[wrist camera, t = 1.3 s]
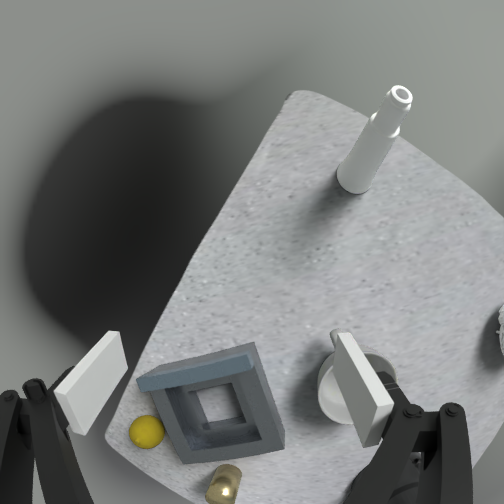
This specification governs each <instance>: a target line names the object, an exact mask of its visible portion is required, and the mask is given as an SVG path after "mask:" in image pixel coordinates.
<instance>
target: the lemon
mask: <svg viewBox="0 0 504 504" xmlns="http://www.w3.org/2000/svg"><path fill="white" fill-rule="evenodd" d="M164 435H165V428H164V425H163V424H162V422H161V421H160V420H159V419H158V418H156V417H154V416H151V415H144V416H140V417H138V418H137V419H135V420H134V422H133V423H132V424H131V426H130V429H129V436H130V439H131V441H132V442H133V443H134V444H135V445H136V446H138V447H140V448H143V449H150V448H153V447H155V446H157V445H158V444H160V443H161V441H162V440H163V438H164Z"/></svg>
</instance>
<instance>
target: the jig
mask: <svg viewBox="0 0 504 504" xmlns="http://www.w3.org/2000/svg"><path fill="white" fill-rule="evenodd" d="M136 381H137V383H138V386H139V389H140V391H141V392H147V391H150V393H151V395H152V398H153V400H154V403H155V405H156V408H157V410H158V412H159V415H160V417H161V419H162V422H163V424H164V426H165V428H166V431H167V433H168V435H169V437H170V439H171V441H172V443H173V445H174V447H175V449H176V452H177V454H178V456H179V457H180V459H181V461H182V463H183V464H193V463H204V462H214V461H222V460H229V459H236V458H242V457H248V456H254V455H259V454H264V453H269V452H274V451H278V450H283V449H285V430H284V427H283V424H282V421H281V418H280V416H279V413H278V410H277V407H276V404H275V401H274V399H273V396H272V393H271V390H270V387H269V384H268V381H267V378H266V375H265V372H264V370H263V367H262V364H261V361H260V358H259V355H258V352H257V349H256V346H255V343H254V342H251V343H247V344H244V345H240V346H236V347H233V348H229V349H225V350H222V351H218V352H214V353H210V354H206V355H202V356H198V357H194V358H190V359H185V360H181V361H177V362H172V363H168V364H163V365H159V366H158V367H156V368H154V369H153V370H151V371H149V372H147V373H146V374H144V375H142V376H140V377H139V378H137V379H136ZM231 382H232V385H233V388H234V391H235V393H236V396H237V399H238V401H239V404H240V407H241V409H242V412H243V414H244V416H241V417H236V418H231V419H226V420H220V421H214V422H208V420H207V418H206V416H205V413H204V411H203V408H202V406H201V403H200V401H199V398H198V396H197V393H196V390H199V389H204V388H209V387H213V386H218V385H222V384H227V383H231Z"/></svg>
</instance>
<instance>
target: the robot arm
mask: <svg viewBox="0 0 504 504" xmlns="http://www.w3.org/2000/svg"><path fill="white" fill-rule="evenodd" d="M127 369H128V367H127V363H126V359H125V355H124V351H123V347H122V343H121V338H120V333H119V332H115V331H108V332H107V333H106V334H105V335H104V337H103V338H102V339H101V340H100V341H99V342H98V343H97V344H96V345H95V346H94V347H93V348H92V349H91V350H90V351H89V353H88V354H87V355H86V356H85V357H84V358H83V359H82V360H81V361H80V362H79V363H78V364H77V365H76V366H72V367H70V368H69V369H67V370H66V371H65V372H64V373H63V374H62V375H61V376H60V377H59V378H58V380H57V381H55V383H54V384H53V385H52V386H51V387H50V388H49V389H48V390H47V389H46V386H45V384H44V382H43V381H42V380H41V379H37V378H36V379H31V380H28V381H27V382H25V383H24V384H23V387H22V389H23V391H24V393H25V395H26V397H27V399H22V398H20V397H19V395H18V393H17V392H16V391H15V390H7V391H4V392H3V393H2V394H1V395H0V504H32V489H33V471H34V460H36V465H37V470H38V475H39V480H40V484H41V488H42V491H43V496H44V499H45V503H46V504H94V502H93V500H92V498H91V496H90V493H89V491H88V489H87V486H86V484H85V481H84V478H83V476H82V473H81V471H80V468H79V465H78V462H77V459H76V457H75V453H74V450H73V447H72V444H71V440H70V437H69V434H68V431H67V430H66V428H67V426H68V425H70V427H71V429H72V430H73V432H75V433H78V434H82V435H86V433H87V432H88V430H89V429H90V427H91V425H92V424H93V422H94V420H95V419H96V417H97V416H98V414H99V412H100V411H101V409H102V408H103V406H104V404H105V403H106V401H107V400H108V398H109V397H110V395H111V393H112V392H113V390H114V389H115V387H116V386H117V384H118V383H119V381H120V379H121V378H122V376H123V375H124V373H125V372H126V370H127ZM332 372H333V374H334V376H335V379H336V381H337V384H338V386H339V389H340V391H341V393H342V396H343V398H344V401H345V403H346V406H347V408H348V411H349V413H350V416H351V418H352V421H353V423H354V426H355V428H356V431H357V433H358V436H359V438H360V441H361V443H362V446H363V448H366V447H370V446H375V445H378V444H379V442H380V440H381V437H382V438H383V441H382V443H381V444H380V446H379V448H378V450H377V452H376V453H375V455H374V457H373V459H372V460H371V462H370V464H369V465H368V466H367V467H366V468H364V469H363V470H362V471H361V472H360V474H359V475H358V476H357V477H356V479H355V481H354V482H353V485H352V488H351V493H350V495H349V496H348V498H347V499H346V500H345V502H344V503H343V504H473V484H472V465H471V453H470V444H469V436H468V429H467V422H466V416H465V411H464V409H463V407H462V406H460V405H459V404H457V403H452V402H451V403H446V404H444V405H442V407H441V408H440V410H439V411H436V412H424V410H423V409H422V408H421V407H420V406H418V405H415V404H410V402H409V401H408V399H407V398H406V396H405V395H404V393H403V392H402V390H401V389H400V388H399V386H398V385H397V383H396V382H395V380H394V379H393V377H392V376H391V375H389V374H388V373H386V372H385V371H382V372H375V371H374V370H373V368H372V366H371V365H370V363H369V362H368V360H367V359H366V357H365V355H364V354H363V352H362V351H361V349H360V348H359V346H358V345H357V343H356V341H355V340H354V338H353V337H352V335H351V334H350V332H348V333H337V341H336V349H335V356H334V363H333V370H332ZM418 452H421V454H420V453H418Z"/></svg>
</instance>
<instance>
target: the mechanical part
mask: <svg viewBox="0 0 504 504" xmlns="http://www.w3.org/2000/svg"><path fill="white" fill-rule="evenodd" d="M499 313H500V315H499V318H498V320H499V323H500V324H501V327H500V331H497V330H496V333H498V334H499V338H500V345H501V350H502V353H503V355H504V305H503V306H502V307H501V308H500V310H499Z"/></svg>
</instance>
